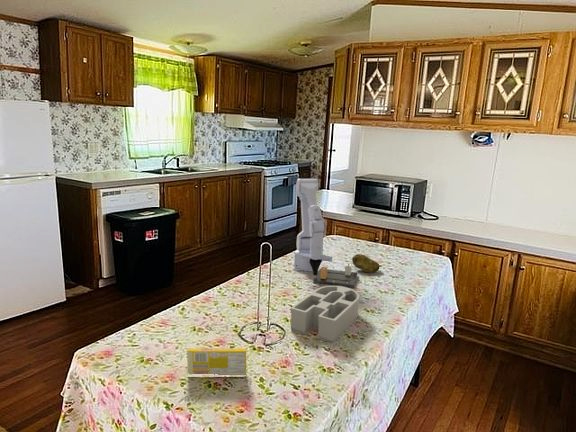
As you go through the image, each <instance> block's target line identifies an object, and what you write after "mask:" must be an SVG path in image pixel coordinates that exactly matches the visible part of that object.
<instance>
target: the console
mask: <svg viewBox="0 0 576 432" xmlns="http://www.w3.org/2000/svg"><path fill="white" fill-rule="evenodd" d="M320 277H321V268H319V269H318V273H317V276H314V279H313V280H312V283H313V284H315V283H317V285H322V286H323V285H324V286H343V287H347V288H350V289H355V285H356V281H357V278H358V272H356V271H355V272H354V271H351V275H350V276H349V275H345V270H336V269H330V268H329V269H328V268H327V278H326V279H320Z"/></svg>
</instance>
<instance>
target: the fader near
mask: <svg viewBox="0 0 576 432" xmlns="http://www.w3.org/2000/svg"><path fill="white" fill-rule="evenodd" d="M320 269H321V277H320V279H326V278H327V269H328V267H327V266H321V268H320Z"/></svg>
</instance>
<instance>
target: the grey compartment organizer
mask: <svg viewBox="0 0 576 432" xmlns="http://www.w3.org/2000/svg"><path fill="white" fill-rule="evenodd" d="M360 296H361V295H360V293H358V291H356V290H355V289H354V288H348V287H343V286H331V285H324V286H321V287H319V288H316V289H314V291H312V292H310V293H309V294H308V295H307V296H305V297H304V298H303V299H301V300H300V301H299V300H298V302H297V303H295V304H294V305H293V306H291V307H290V329H291V331H292V332H295V333H298V334H302V335H307V333H308V332H309V331H310V330H312V329H317V330H318V334H317V337H318V339H319V340H321V341H324V342H327V343H330V344H334V343H335V342H336V341H337V340H338V339H339V338H340V337H341V336H342V335H343V333H345V332H346V331H347V330H348V329H349V328H350V327H351V325H353V323H355V322H356V321H357V318H358V316H359V306H360V305H359V303H360Z"/></svg>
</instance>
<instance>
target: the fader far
mask: <svg viewBox="0 0 576 432" xmlns="http://www.w3.org/2000/svg"><path fill="white" fill-rule="evenodd" d="M352 264H353V263H352ZM352 264H351V263H345V267H344V269H345V270H344V271H345V275H349V276H350V275H351V272H352Z"/></svg>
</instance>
